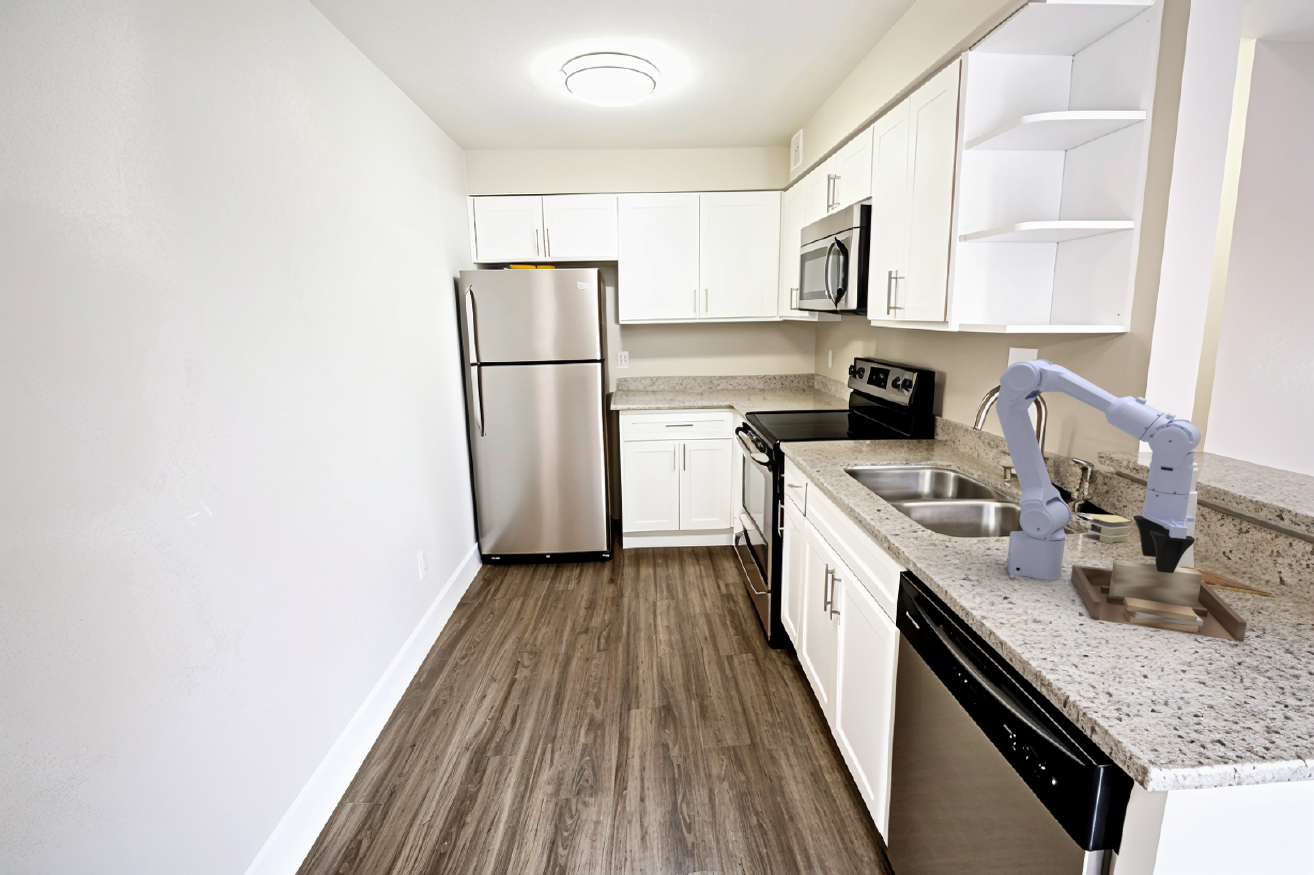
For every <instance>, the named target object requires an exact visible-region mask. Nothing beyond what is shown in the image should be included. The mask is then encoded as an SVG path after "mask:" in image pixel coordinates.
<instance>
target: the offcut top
mask: <svg viewBox="0 0 1314 875" xmlns="http://www.w3.org/2000/svg"><path fill="white" fill-rule="evenodd" d="M1123 602H1124V605H1125V607H1126V609H1127V611H1133V612H1139V613H1145V614H1150V615H1156V616H1162V617H1168V618H1174V619H1180V620H1186V621H1192V622H1196V621H1197V616H1196V614H1195V613H1194V611H1193V610H1192V608H1191V607H1186V606H1180V605H1173V604H1167V603H1161V602H1155V601H1149V600H1142V599H1136V598H1130V597H1124V600H1123Z"/></svg>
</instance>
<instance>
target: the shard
mask: <svg viewBox="0 0 1314 875" xmlns="http://www.w3.org/2000/svg"><path fill="white" fill-rule="evenodd" d="M1180 568H1188V569H1197V570H1198V571H1199V572H1200V573H1201V574H1202V579H1201V580H1203V581H1204V582H1205V583H1206V584H1207V585H1208V586H1209V587H1210V588H1211V589H1217V590H1218V589H1219V590H1224V591H1231V592H1238V593H1244V594H1245V593H1246V594H1253V595H1262V596H1268V597H1269V596H1272V595H1273V594H1272V593H1271V592H1266V591H1264V590H1261V589H1259V588H1257V587H1253V586H1250V585H1248V584H1245V583H1243V582H1240V581H1238V580H1235V579H1233V578H1230V577H1227V576H1224V575H1221V574H1218V573H1217V572H1212V571H1210V570H1207V569H1204V568H1200V567H1194V568H1193V567H1188V566H1185V567H1180Z"/></svg>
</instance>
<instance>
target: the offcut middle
mask: <svg viewBox="0 0 1314 875" xmlns="http://www.w3.org/2000/svg"><path fill="white" fill-rule="evenodd" d="M1130 612H1131V614H1132V615H1133V616H1134V617H1135V618H1136V619H1143V620H1152V621H1160V622H1168V623H1176V624H1184V625H1192V626H1201V627H1202V626H1203V620H1202V619H1201V618H1199V617H1198V616H1197V615H1196V616H1197V621H1196V622H1192V621H1186V620H1180V619H1174V618H1168V617H1162V616H1156V615H1150V614H1145V613H1139V612H1133V611H1130Z"/></svg>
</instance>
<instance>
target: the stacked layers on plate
mask: <svg viewBox="0 0 1314 875" xmlns="http://www.w3.org/2000/svg"><path fill="white" fill-rule="evenodd" d="M1089 517H1090V518H1091V519H1089V520H1088V524H1090V527H1088V528H1087V532H1090V533H1094V534H1096V535H1098V536H1099V535H1100V536H1099V541H1100V542H1102V543H1106V544H1112V543H1123V542H1126V540H1127V536H1128V537H1129V535H1130V533H1128V529H1129V528H1131V525H1129V524H1126V523H1124V522H1131V520H1130V519H1127V518H1125V517H1122V516H1120V515H1115V514H1114V515H1113V514H1089Z"/></svg>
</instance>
